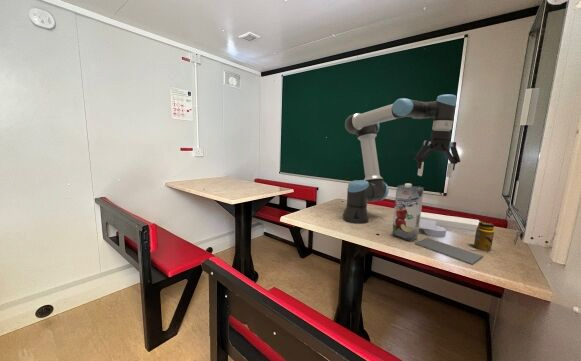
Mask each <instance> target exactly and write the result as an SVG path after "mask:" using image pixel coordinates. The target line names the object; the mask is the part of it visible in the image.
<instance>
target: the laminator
mask: <svg viewBox="0 0 581 361" xmlns="http://www.w3.org/2000/svg"><path fill="white" fill-rule="evenodd" d="M420 219H425V220H430V221H435V222H436V226H440V227H443V228H445V229H446V231H447V232H453V233H458V234H465V235H469V236H470V235H471V236H475V235H476V229H477V227H478V225H479V222H481V220H479V219H473V218H466V217H460V216H454V215H453V216H451V215H443V214H439V213H438V214H437V213H430V212H426V211H425V212H423V211H421V217H420Z"/></svg>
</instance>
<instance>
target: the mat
mask: <svg viewBox="0 0 581 361" xmlns="http://www.w3.org/2000/svg"><path fill="white" fill-rule="evenodd" d="M414 245H416V246H418V247H421V248H424V249H427V250H430V251H432V252H435V253H438V254H441V255H443V256H447V257H450V258H452V259H455V260H457V261H460V262H463V263H465V264H468V265H471V266H473V265H475V264H476V263H477V262H479V261H480V260H481V259H482V258H484V255H482V254H479V253H475V252H473V251H471V250H470V251H469V250H466V249H463V248H460V247H458V246H457V247H456V246H454V245H451V244H448V243H444V242H441V241H439V240H435V239H432V238H429V237H426V238H423V239H420V240H418V241H416V242H414Z"/></svg>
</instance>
